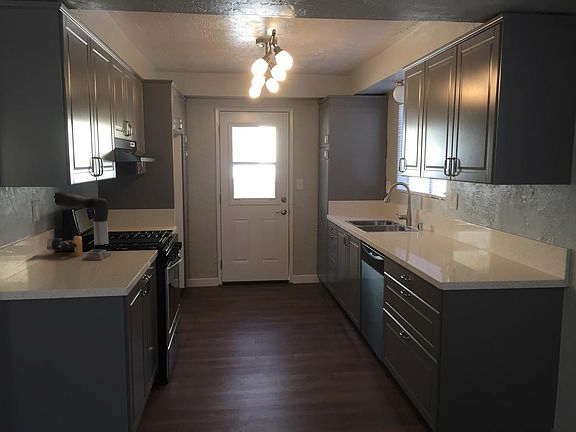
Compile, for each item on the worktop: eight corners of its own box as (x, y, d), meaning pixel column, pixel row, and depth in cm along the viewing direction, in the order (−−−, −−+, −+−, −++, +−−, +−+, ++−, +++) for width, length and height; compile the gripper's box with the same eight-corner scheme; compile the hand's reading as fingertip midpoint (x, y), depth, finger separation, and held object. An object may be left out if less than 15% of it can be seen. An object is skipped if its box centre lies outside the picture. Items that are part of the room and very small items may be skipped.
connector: (76, 254, 303) (75, 236, 302) (83, 254, 303) (82, 236, 302) (73, 255, 299) (72, 237, 297) (80, 256, 299) (79, 237, 297)
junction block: (92, 254, 303) (91, 248, 302) (110, 254, 303) (110, 248, 302) (81, 260, 288) (81, 253, 287) (101, 260, 288) (101, 253, 287)
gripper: (48, 240, 293) (74, 240, 293) (59, 236, 307) (84, 236, 307) (48, 252, 294) (74, 252, 294) (60, 247, 308) (84, 247, 308)
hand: (79, 244), depth 300 cm, fingers open, 8 cm apart
